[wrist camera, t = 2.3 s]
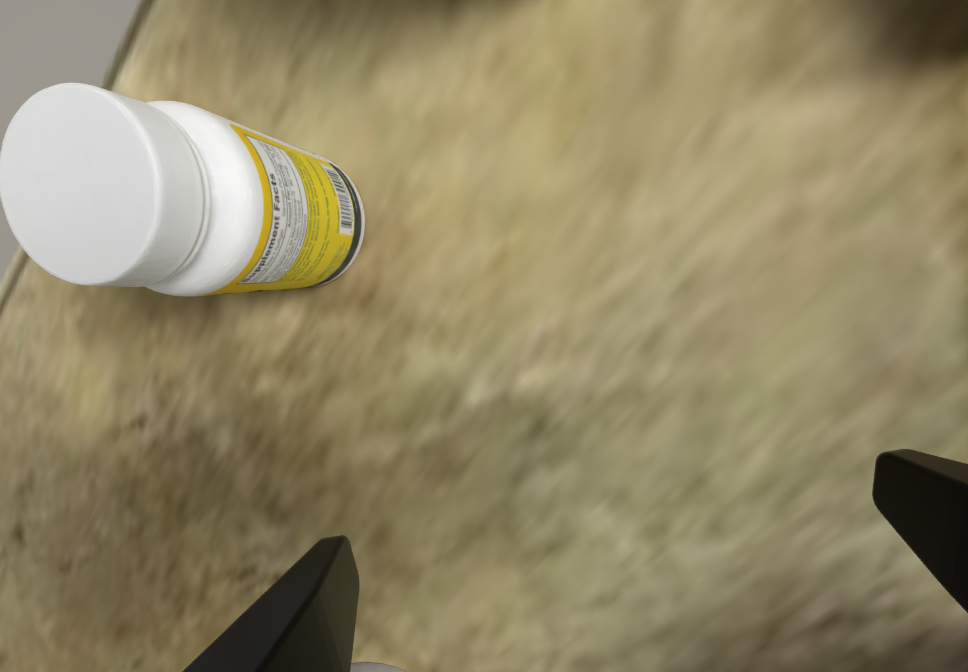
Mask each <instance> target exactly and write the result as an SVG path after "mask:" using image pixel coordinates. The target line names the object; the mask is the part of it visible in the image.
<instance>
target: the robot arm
mask: <svg viewBox="0 0 968 672" xmlns="http://www.w3.org/2000/svg"><path fill="white" fill-rule="evenodd" d="M872 496H873V500H874V503H875V505H876V507H877V509H878V510H879V511H880V512H881V514H882V515H883V516H884V517H885V518H886V520H887V521H888V522H889V523H890V524H891V525H892V527H893V528H894V529H895V530H896V531H897V533H898V534H899V535H900V536H901V537H902V539H903V540H904V541H905V542H906V543H907V544H908V546H909V547H910V548H911V549H912V550H913V552H914V553H915V554H916V555H917V556H918V558H919V559H920V560H921V561H922V562H923V563H924V565H925V566H926V567H927V568H928V569H929V571H930V572H931V573H932V574H933V575H934V577H935V578H936V579H937V580H938V581H939V582H940V583H941V585H942V586H943V587H944V588H945V589H946V590H947V591H948V593H949V594H950V595H951V596H952V597H953V598H954V599H955V600H956V601H957V602H958V603H959V604H960V605H961V606H962V607H963V609H964V610H965V611H966V612H967V613H968V464H965V463H961V462H957V461H953V460H949V459H946V458H942V457H938V456H934V455H930V454H926V453H922V452H918V451H914V450H910V449H900V450H893V451H887V452H883V453H881V454H879V456H878V457H877V459H876V464H875V473H874V482H873V491H872ZM358 596H359V575H358V571H357V567H356V563H355V560H354V556H353V552H352V549H351V545H350V542H349V540H348V538H347V537H346V536H344V535H341V536H334V537H328V538H323V539H321V540H320V541H318V542H317V543H316V544H315V545H314V546H313V547H312V548H311V549H310V550H309V551H308V552H307V553H306V554H305V555H304V556H303V557H302V558H301V559H299V560H298V561H297V562H296V563H295V564H294V565H293V566H292V567H291V568H290V569H289V570H288V571H287V572H286V573H285V574H284V575H283V576H282V577H281V578H280V579H279V580H278V581H277V582H275V583H274V584H273V585H272V586H271V587H270V588H269V589H268V590H267V591H266V592H265V593H264V594H263V595H262V596H261V597H260V598H259V599H258V600H257V601H256V602H255V603H254V604H252V605H251V606H250V607H249V608H248V609H247V610H246V611H245V612H244V613H243V614H242V615H241V616H240V617H239V618H238V619H237V620H236V621H235V622H234V623H233V624H232V625H231V626H230V627H228V628H227V629H226V630H225V631H224V632H223V633H222V634H221V635H220V636H219V637H218V638H217V639H216V640H215V641H214V642H213V643H212V644H211V645H210V646H209V647H208V648H207V649H205V650H204V651H203V652H202V653H201V654H200V655H199V656H198V657H197V658H196V659H195V660H194V661H193V662H192V663H191V664H190V665H189V666H188V667H187V668H186V669H185V670H184V671H183V672H350V668H351V659H352V650H353V641H354V632H355V623H356V614H357V605H358Z"/></svg>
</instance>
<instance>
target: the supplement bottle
mask: <svg viewBox="0 0 968 672" xmlns="http://www.w3.org/2000/svg"><path fill="white" fill-rule="evenodd" d="M0 197H1V201H2V205H3V209H4V212H5V215H6V218H7V221H8V223H9V225H10V227H11V230H12V232H13V234H14V236H15V237H16V239H17V240H18V242H19V243H20V245H21V246H22V248H23V249H24V250H25V252H26V253H27V254H28V255H29V256H30V257H31V258H32V259H33V260H34V261H35V262H36V263H37V264H38V265H39V266H40V267H41V268H43V269H44V270H45V271H47V272H48V273H50V274H52V275H53V276H55V277H57V278H59V279H62V280H64V281H67V282H69V283H73V284H77V285H84V286H123V287H142V286H145V287H147V288H149V289H151V290H153V291H156V292H160V293H163V294H167V295H173V296H185V297H191V296H207V295H217V294H229V293H242V292H255V291H266V290H280V289H292V288H305V287H314V286H319V285H323V284H326V283H328V282H330V281H332V280H334V279H336V278H338V277H339V276H340V275H342V274H343V273H344V272H345V271H346V270H347V269H348V268H349V267H350V266H351V264H352V263H353V261H354V260H355V258H356V256H357V254H358V252H359V250H360V247H361V244H362V241H363V236H364V229H365V217H364V209H363V205H362V201H361V198H360V196H359V193H358V191H357V189H356V187H355V185H354V184H353V182H352V181H351V179H350V178H349V177H348V176H347V175H346V174H345V172H344V171H342V170H341V169H340V168H339V167H338V166H337V165H335V164H334V163H332V162H331V161H329V160H327V159H325V158H323V157H320V156H318V155H315V154H313V153H311V152H308V151H306V150H304V149H300V148H298V147H295V146H293V145H290V144H288V143H285V142H283V141H280V140H278V139H275V138H273V137H270V136H268V135H265V134H263V133H260V132H258V131H255V130H253V129H250V128H248V127H246V126H243V125H241V124H238V123H236V122H233V121H231V120H228V119H226V118H224V117H221V116H219V115H216V114H214V113H212V112H209V111H207V110H204V109H202V108H200V107H197V106H194V105H191V104H187V103H182V102H177V101H154V102H148V103H144V102H141V101H138V100H136V99H132V98H128V97H125V96H122V95H119V94H116V93H114V92H111V91H108V90H105V89H102V88H99V87H96V86H92V85H87V84H82V83H63V84H58V85H54V86H52V87H48V88H45V89H43V90H41V91H39V92H38V93H36V94H35V95H33V96H32V97H31V98H29V99H28V100H27V101H26V102H25V103H24V104H23V105H22V106H21V108H20V109H19V110H18V112H17V113H16V114H15V116H14V117H13V119H12V121H11V122H10V124H9V126H8V129H7V131H6V134H5V136H4V140H3V144H2V148H1V152H0Z"/></svg>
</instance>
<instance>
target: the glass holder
mask: <svg viewBox="0 0 968 672" xmlns="http://www.w3.org/2000/svg"><path fill="white" fill-rule="evenodd" d="M350 672H406V671H403V670H401V669H398V668H396V667H393V666H389V665H384V664H380V663H368V662H362V663H353V664H351V668H350Z"/></svg>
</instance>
